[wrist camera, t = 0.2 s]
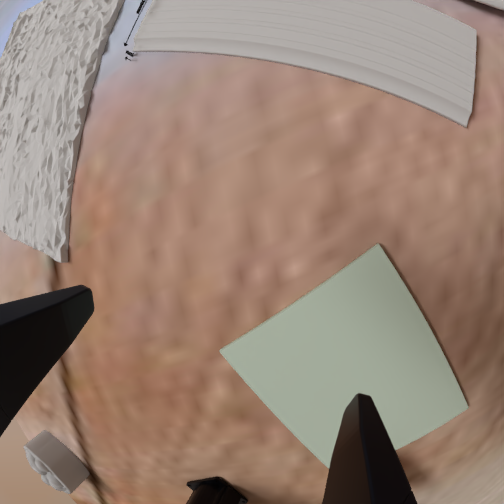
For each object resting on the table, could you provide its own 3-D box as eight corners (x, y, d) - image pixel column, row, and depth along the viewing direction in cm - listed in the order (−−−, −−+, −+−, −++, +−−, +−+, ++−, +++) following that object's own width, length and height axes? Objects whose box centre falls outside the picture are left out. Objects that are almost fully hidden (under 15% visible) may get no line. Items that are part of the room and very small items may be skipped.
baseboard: (459, 145, 18) (470, 36, 15) (474, 139, 16) (481, 23, 13) (132, 66, 24) (173, -20, 21) (115, 57, 21) (160, -33, 18)
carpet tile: (25, 15, 27) (17, 12, 25) (148, -39, 21) (140, -47, 19) (-21, 218, 36) (-30, 219, 34) (72, 262, 30) (59, 265, 28)
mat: (335, 471, 25) (335, 474, 25) (221, 348, 26) (219, 351, 25) (467, 405, 21) (468, 407, 20) (377, 242, 21) (378, 244, 20)
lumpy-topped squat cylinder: (41, 424, 41) (16, 444, 33) (88, 463, 39) (63, 488, 31) (48, 448, 44) (26, 466, 36) (90, 482, 42) (69, 504, 34)
